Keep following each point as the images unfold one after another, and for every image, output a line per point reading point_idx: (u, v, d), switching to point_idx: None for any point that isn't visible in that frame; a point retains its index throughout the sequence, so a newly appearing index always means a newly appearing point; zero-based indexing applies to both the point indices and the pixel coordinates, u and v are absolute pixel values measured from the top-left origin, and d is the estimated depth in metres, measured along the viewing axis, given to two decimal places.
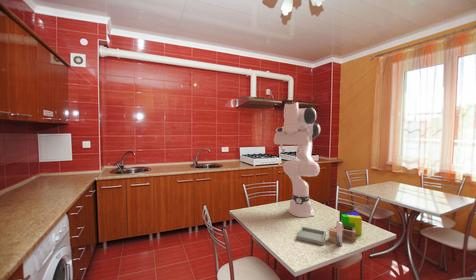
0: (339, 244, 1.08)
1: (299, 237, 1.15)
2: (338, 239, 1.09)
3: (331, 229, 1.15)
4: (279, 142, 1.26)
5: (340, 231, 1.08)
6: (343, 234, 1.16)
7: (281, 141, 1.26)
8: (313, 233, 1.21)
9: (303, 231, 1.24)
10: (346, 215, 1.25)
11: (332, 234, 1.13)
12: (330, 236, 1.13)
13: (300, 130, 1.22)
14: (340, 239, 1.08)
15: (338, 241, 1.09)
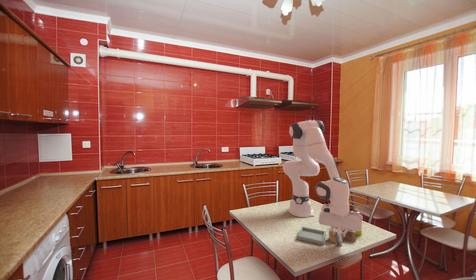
0: (339, 244, 1.08)
1: (299, 237, 1.15)
2: (338, 239, 1.09)
3: (331, 229, 1.15)
4: (325, 223, 1.11)
5: (340, 231, 1.08)
6: None
7: (328, 222, 1.10)
8: (313, 233, 1.21)
9: (303, 231, 1.24)
10: None
11: (332, 234, 1.13)
12: (330, 236, 1.13)
13: (351, 213, 1.06)
14: (340, 239, 1.08)
15: (338, 241, 1.09)
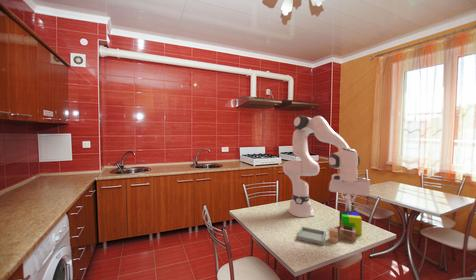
0: (348, 209, 1.17)
1: (299, 237, 1.15)
2: (347, 204, 1.17)
3: (331, 229, 1.15)
4: (335, 190, 1.19)
5: (349, 197, 1.16)
6: (343, 234, 1.16)
7: (338, 189, 1.19)
8: (313, 233, 1.21)
9: (303, 231, 1.24)
10: (346, 215, 1.25)
11: (332, 234, 1.13)
12: (330, 236, 1.13)
13: (360, 179, 1.15)
14: (350, 205, 1.16)
15: (347, 206, 1.17)
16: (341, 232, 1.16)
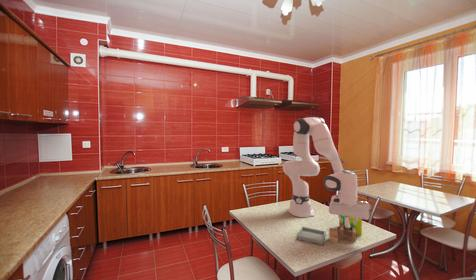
0: None
1: (299, 237, 1.15)
2: None
3: (331, 229, 1.15)
4: (335, 212, 1.20)
5: (348, 224, 1.17)
6: (343, 234, 1.16)
7: (337, 211, 1.19)
8: (313, 233, 1.21)
9: (303, 231, 1.24)
10: None
11: (332, 234, 1.13)
12: (330, 236, 1.13)
13: (359, 202, 1.15)
14: None
15: None
16: (341, 232, 1.16)
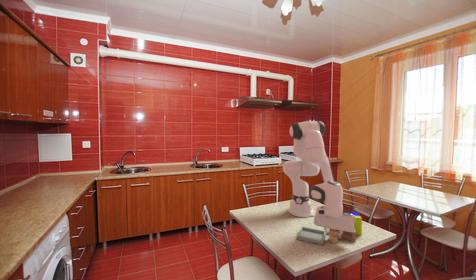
0: None
1: (299, 237, 1.15)
2: None
3: (331, 229, 1.15)
4: (320, 224, 1.16)
5: None
6: (343, 234, 1.16)
7: (322, 223, 1.15)
8: (313, 233, 1.21)
9: (303, 231, 1.24)
10: None
11: (332, 234, 1.13)
12: (330, 236, 1.13)
13: (344, 214, 1.11)
14: None
15: None
16: None
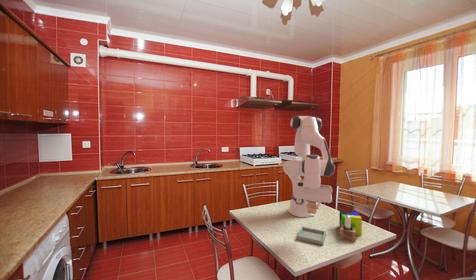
0: None
1: (299, 237, 1.15)
2: None
3: (310, 201, 1.18)
4: (299, 197, 1.19)
5: (349, 224, 1.17)
6: (343, 234, 1.16)
7: (301, 195, 1.18)
8: (313, 233, 1.21)
9: (303, 231, 1.24)
10: None
11: (310, 206, 1.16)
12: (308, 207, 1.16)
13: (322, 186, 1.14)
14: None
15: None
16: (341, 232, 1.16)
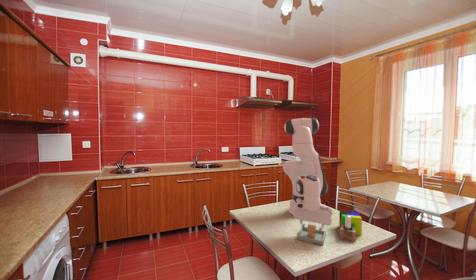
0: None
1: (299, 237, 1.15)
2: None
3: (309, 225, 1.18)
4: (299, 218, 1.19)
5: (349, 224, 1.17)
6: (343, 234, 1.16)
7: (301, 216, 1.19)
8: None
9: (303, 231, 1.24)
10: None
11: (310, 230, 1.16)
12: (308, 232, 1.17)
13: (322, 208, 1.15)
14: None
15: None
16: (341, 232, 1.16)
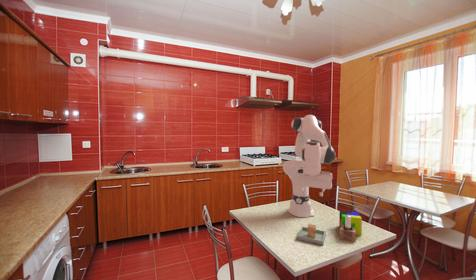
0: None
1: (299, 237, 1.15)
2: None
3: (309, 225, 1.18)
4: (299, 184, 1.19)
5: (349, 224, 1.17)
6: (343, 234, 1.16)
7: (302, 182, 1.18)
8: None
9: (303, 231, 1.24)
10: None
11: (310, 230, 1.16)
12: (308, 232, 1.17)
13: (322, 173, 1.14)
14: None
15: None
16: (341, 232, 1.16)
